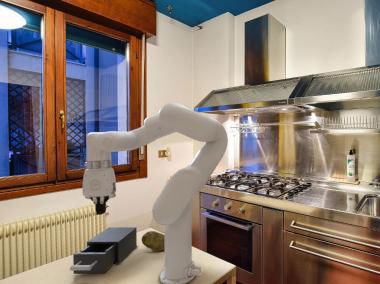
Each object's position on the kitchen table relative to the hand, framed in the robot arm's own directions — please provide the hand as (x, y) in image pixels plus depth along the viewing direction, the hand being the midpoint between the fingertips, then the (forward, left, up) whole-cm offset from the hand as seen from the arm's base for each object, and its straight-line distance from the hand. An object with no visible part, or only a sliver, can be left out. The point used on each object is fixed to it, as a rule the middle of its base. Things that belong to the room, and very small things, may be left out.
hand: (101, 213), depth 85 cm
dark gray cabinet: (+5, -11, -22) cm, 25 cm away
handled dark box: (+2, 0, -21) cm, 21 cm away
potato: (-10, -20, -22) cm, 31 cm away
